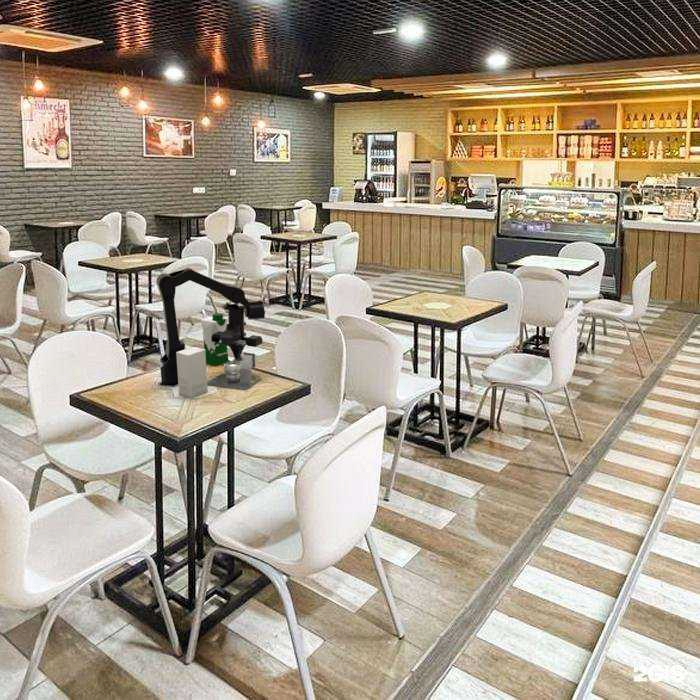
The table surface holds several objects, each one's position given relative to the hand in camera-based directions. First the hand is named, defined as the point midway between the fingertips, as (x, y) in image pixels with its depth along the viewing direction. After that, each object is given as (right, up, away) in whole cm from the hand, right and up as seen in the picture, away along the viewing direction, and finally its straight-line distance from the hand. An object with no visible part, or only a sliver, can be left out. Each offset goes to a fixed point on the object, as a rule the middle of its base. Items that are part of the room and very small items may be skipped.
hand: (237, 361), depth 271 cm
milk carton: (-11, -1, +18) cm, 21 cm away
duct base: (0, -8, -7) cm, 11 cm away
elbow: (+1, -4, -4) cm, 6 cm away
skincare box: (-12, -11, -19) cm, 25 cm away
